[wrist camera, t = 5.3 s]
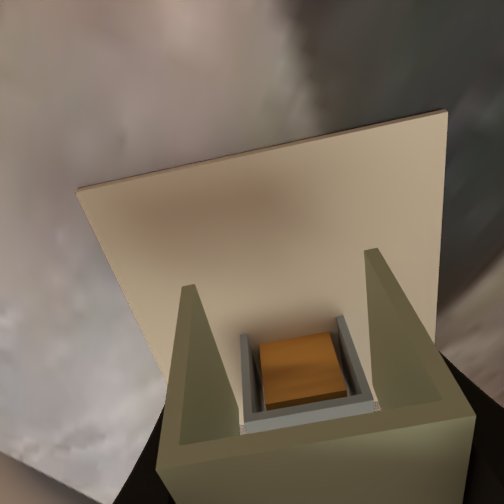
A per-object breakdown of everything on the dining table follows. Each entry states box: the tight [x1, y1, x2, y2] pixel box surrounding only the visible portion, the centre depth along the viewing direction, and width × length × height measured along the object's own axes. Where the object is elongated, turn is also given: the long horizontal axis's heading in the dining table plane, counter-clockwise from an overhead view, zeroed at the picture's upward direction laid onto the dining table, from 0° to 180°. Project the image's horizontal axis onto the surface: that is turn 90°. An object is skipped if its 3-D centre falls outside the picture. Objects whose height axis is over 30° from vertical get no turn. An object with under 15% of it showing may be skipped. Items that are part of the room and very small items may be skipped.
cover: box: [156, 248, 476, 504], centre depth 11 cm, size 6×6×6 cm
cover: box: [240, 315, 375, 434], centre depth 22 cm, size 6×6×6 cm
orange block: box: [259, 331, 347, 411], centre depth 23 cm, size 4×4×4 cm
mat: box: [75, 109, 448, 425], centre depth 22 cm, size 18×16×1 cm
